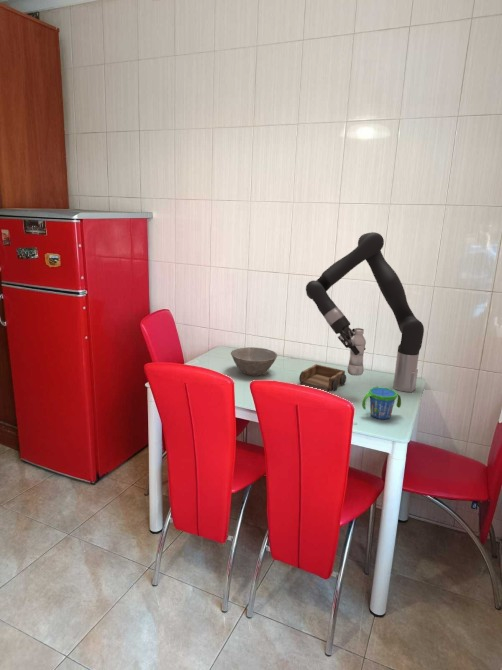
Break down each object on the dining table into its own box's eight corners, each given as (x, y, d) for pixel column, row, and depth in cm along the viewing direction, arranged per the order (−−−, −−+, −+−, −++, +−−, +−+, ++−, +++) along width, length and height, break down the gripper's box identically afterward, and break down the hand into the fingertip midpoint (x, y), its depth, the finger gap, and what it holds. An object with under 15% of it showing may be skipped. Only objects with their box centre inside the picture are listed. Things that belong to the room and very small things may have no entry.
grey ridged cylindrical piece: (363, 378, 193) (367, 331, 188) (346, 376, 194) (350, 330, 189) (362, 373, 199) (367, 328, 194) (346, 371, 201) (350, 326, 196)
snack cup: (365, 421, 176) (368, 396, 173) (356, 410, 186) (359, 386, 184) (404, 421, 178) (408, 396, 175) (394, 410, 188) (397, 387, 185)
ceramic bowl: (244, 363, 241) (245, 344, 238) (284, 372, 229) (285, 352, 227) (220, 374, 222) (221, 354, 220) (262, 384, 211) (263, 363, 208)
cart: (327, 395, 201) (329, 382, 199) (293, 386, 210) (294, 373, 208) (346, 383, 217) (347, 371, 215) (313, 375, 226) (314, 363, 225)
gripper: (336, 317, 189) (361, 351, 185) (349, 312, 201) (373, 343, 197) (323, 328, 193) (347, 361, 190) (337, 322, 205) (360, 353, 201)
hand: (360, 352), depth 193 cm, fingers closed on grey ridged cylindrical piece, 6 cm apart
